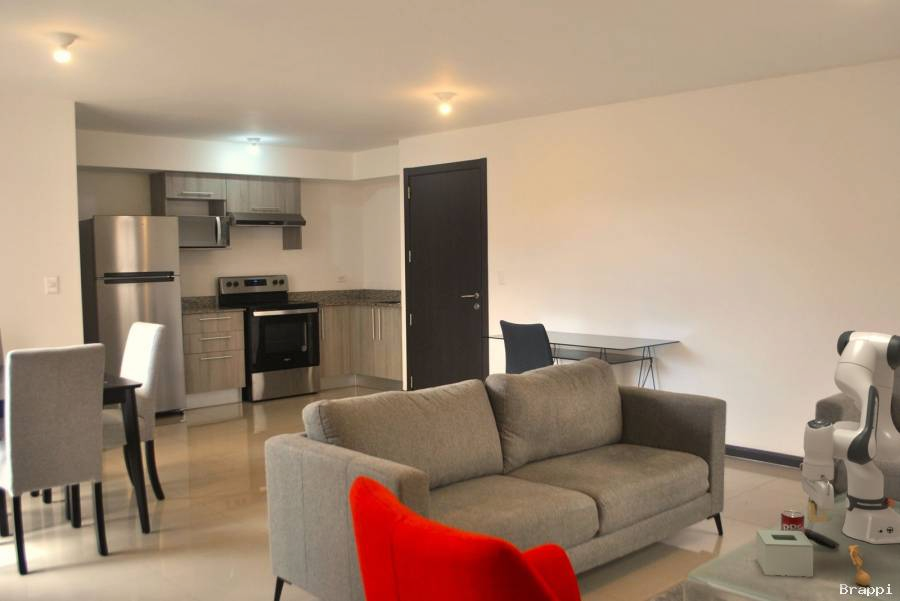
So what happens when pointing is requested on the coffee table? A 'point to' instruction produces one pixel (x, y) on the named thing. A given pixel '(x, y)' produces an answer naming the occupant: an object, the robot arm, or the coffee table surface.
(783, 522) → the soda can
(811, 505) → the tan rectangular block
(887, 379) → the robot arm
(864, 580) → the figurine
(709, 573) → the coffee table surface
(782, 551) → the coin box
